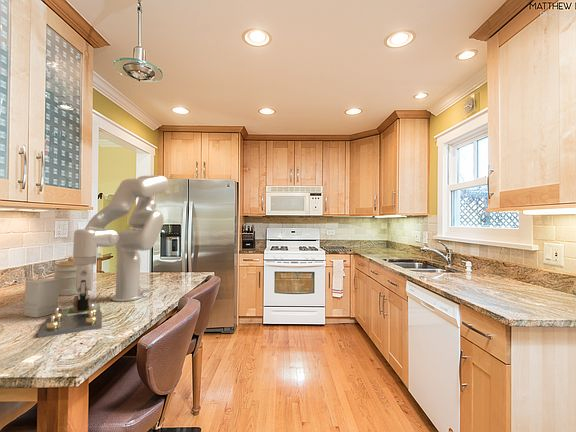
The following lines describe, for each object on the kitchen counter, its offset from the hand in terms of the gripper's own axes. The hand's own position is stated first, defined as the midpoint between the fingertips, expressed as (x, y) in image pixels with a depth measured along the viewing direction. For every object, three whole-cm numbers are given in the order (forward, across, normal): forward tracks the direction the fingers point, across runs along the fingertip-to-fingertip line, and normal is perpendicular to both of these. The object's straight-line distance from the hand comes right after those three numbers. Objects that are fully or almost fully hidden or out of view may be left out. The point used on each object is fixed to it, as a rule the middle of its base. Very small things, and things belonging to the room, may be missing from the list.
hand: (82, 307), depth 112 cm
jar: (+2, +39, +7) cm, 40 cm away
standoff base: (+2, -16, +2) cm, 16 cm away
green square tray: (+2, 0, 0) cm, 2 cm away
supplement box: (+2, +4, +13) cm, 14 cm away
